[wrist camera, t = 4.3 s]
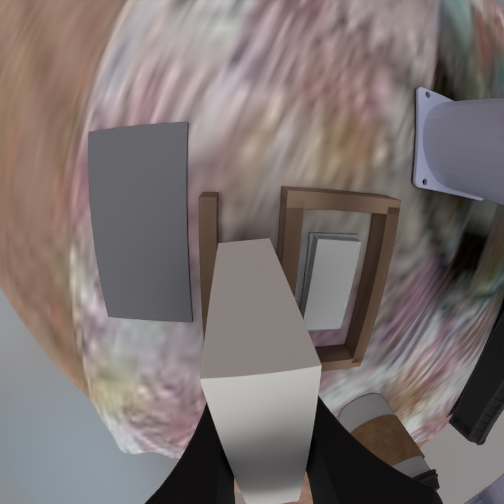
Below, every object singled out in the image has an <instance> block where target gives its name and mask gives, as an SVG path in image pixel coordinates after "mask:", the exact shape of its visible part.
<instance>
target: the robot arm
mask: <svg viewBox="0 0 504 504" xmlns="http://www.w3.org/2000/svg"><path fill="white" fill-rule="evenodd" d="M426 94H427V97H426ZM423 179H424V184H423V182H422V181H423ZM413 184H414V185H415V186H416V187H419V188H425V189H430V190H435V191H440V192H445V193H450V194H454V195H459V196H463V197H467V198H472V199H476V200H480V201H482V200H483V199H486V200H489V201H492V202H495V203H498V204H501V205H504V98H495V99H477V100H464V101H453V100H451V99H448V98H446V97H444V96H442V95H440V94H438V93H435V92H433V91H431V90H428V89H426V88H423V87H418V88H417V89H416V145H415V161H414V173H413ZM306 472H307V475H308V479H309V483H310V488H311V493H312V498H313V504H443V502H442V501H441V498H440V496H439V495H438V493H437V492H436V490H435V489H434V487H432V486H430V485H427V484H425V483H422V482H420V481H418V480H416V479H414V478H411V477H410V476H408V475H406V474H404V473H402V472H400V471H398V470H397V469H395V468H394V467H392V466H390V465H389V464H387V463H386V462H384V461H383V460H381V459H380V458H378V457H377V456H376V455H374V454H373V453H372V452H371V451H369V450H368V449H367V448H366V447H364V446H363V445H362V444H361V443H360V442H359V441H358V440H357V439H355V438H354V437H353V436H352V435H351V434H350V433H349V432H348V431H347V430H346V429H345V428H344V427H343V425H342V424H341V423H340V422H339V421H338V420H337V419H336V417H335V416H334V415H333V414H332V413H331V412H330V410H329V409H328V408H327V407H326V405H325V404H324V403H323V401H322V400H321V399H320V397H319V396H318V400H317V407H316V414H315V420H314V427H313V433H312V439H311V444H310V450H309V455H308V460H307V465H306ZM145 504H235V496H234V475H233V472H232V470H231V467H230V465H229V462H228V460H227V457H226V454H225V452H224V449H223V447H222V444H221V441H220V438H219V436H218V433H217V430H216V427H215V424H214V421H213V418H212V416H211V413H210V410H209V407H208V403H206V406H205V409H204V411H203V414H202V416H201V419H200V421H199V423H198V426H197V428H196V430H195V432H194V435H193V437H192V439H191V440H190V442H189V444H188V446H187V448H186V450H185V452H184V453H183V455H182V457H181V458H180V460H179V462H178V463H177V465H176V466H175V468H174V469H173V471H172V472H171V473H170V475H169V476H168V477H167V479H166V480H165V481H164V483H163V484H162V485H161V487H160V488H159V489H158V490H157V491H156V492H155V494H153V495H152V496H151V498H150V499H149V500H148V501H147V502H146V503H145ZM464 504H504V474H503V475H501V476H500V477H499V478H498V479H497V480H496V481H494V482H493V483H492V484H491V485H489V486H488V487H486V488H485V489H483V490H482V491H481V492H479V493H478V494H477V495H475V496H474V497H472V498H471V499H470V500H468V501H467V502H465V503H464Z"/></svg>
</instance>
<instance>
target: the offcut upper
mask: <svg viewBox="0 0 504 504" xmlns="http://www.w3.org/2000/svg"><path fill="white" fill-rule="evenodd" d="M360 247H361V241H359V240H358V239H356V238H352V237H339V236H326V235H313V242H312V248H311V255H310V261H309V267H308V273H307V279H306V285H305V290H304V296H303V301H302V307H301V312H300V313H301V315H302V318H303V320H304V323H305V325H306V328H307V330H316V329H340V328H341V325H342V321H343V318H344V314H345V311H346V307H347V303H348V299H349V295H350V291H351V287H352V283H353V279H354V275H355V270H356V266H357V261H358V256H359V252H360Z"/></svg>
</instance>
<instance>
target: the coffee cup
mask: <svg viewBox="0 0 504 504" xmlns="http://www.w3.org/2000/svg"><path fill="white" fill-rule="evenodd" d="M339 422H340V423H341V424H342V425H343V427H344V428H345V429H346V430H347V431H348V432H349V433H350V434H351V435H352V436H353V437H354V438H355V439H357V440H358V441H359V442H360V443H361V444H362V445H363V446H364V447H366V448H367V449H368V450H369V451H371V452H372V453H373V454H374V455H376V456H377V457H378V458H380V459H381V460H383V461H384V462H386V463H387V464H389V465H390V466H392V467H394V468H395V469H397V470H398V471H400V472H402V473H404V474H406V475H408V476H410V477H411V478H414V479H416V480H418V481H420V482H422V483H425V484H427V485H430V486H432V487H434V489H435V490H436V491H437V490H438V489H439V483H438V479H437V477H438V474H436V470H435V469H433V470H431V469H430V468H429V466H428V465H427V463H426V462H425V460H424V457H425V456H424V455H423V453H422V452H421V450H420V449H419V447H418V446H417V445H416V443H415V442H414V440H413V439H412V437H411V436H410V435H409V433H408V432H407V430H406V429H405V427H404V426H403V425H402V423H401V422H400V420H399V419H398V417H397V416H396V415H395V414H394V412H393V411H392V409H391V408H390V406H389V405H388V403H387V402H386V400H385V399H384V397H383V396H382V395H380V394H368V395H365V396H362V397H359V398H357V399H355V400H354V401H352V402H350V403H349V404H348V405H346V406H345V407H344V408H343V409H342V411H341V412H340V414H339Z"/></svg>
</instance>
